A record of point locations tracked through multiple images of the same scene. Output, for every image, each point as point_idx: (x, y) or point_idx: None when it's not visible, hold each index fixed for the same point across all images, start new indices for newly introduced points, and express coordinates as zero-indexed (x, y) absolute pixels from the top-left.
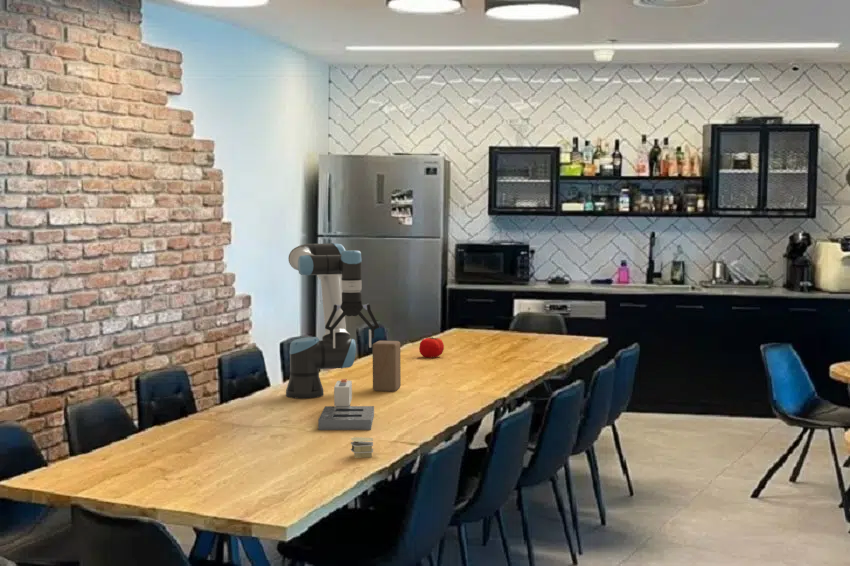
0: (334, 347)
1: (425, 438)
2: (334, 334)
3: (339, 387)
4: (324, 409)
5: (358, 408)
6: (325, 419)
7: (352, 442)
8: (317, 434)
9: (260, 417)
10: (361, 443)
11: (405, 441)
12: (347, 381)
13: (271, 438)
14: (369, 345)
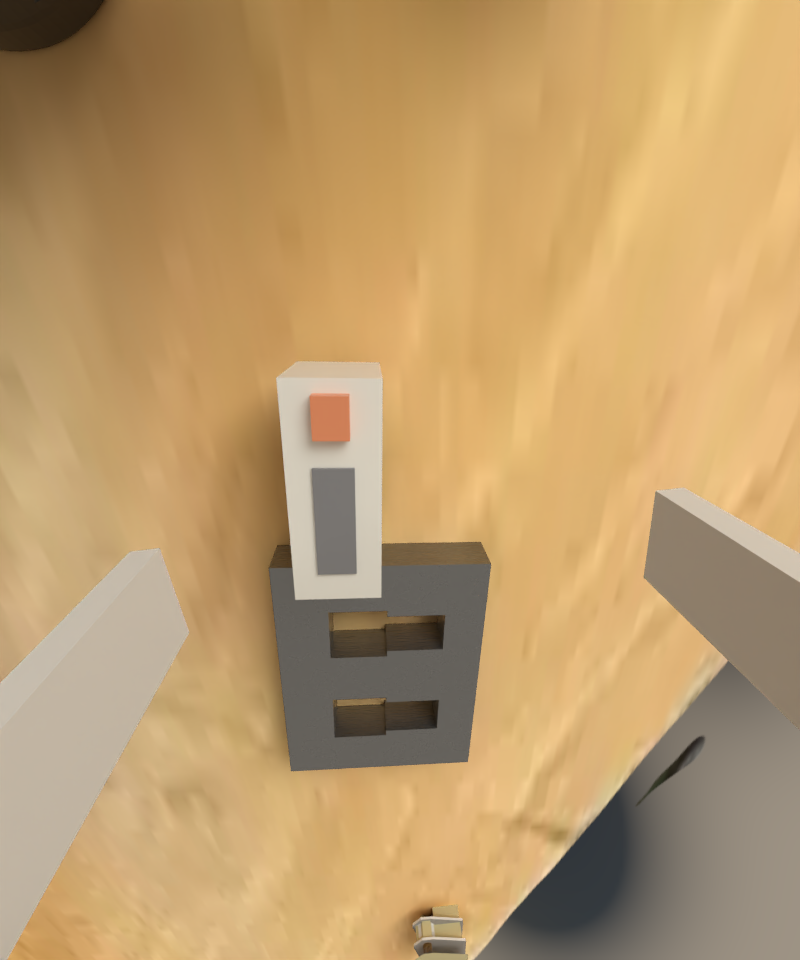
0: (174, 641)
1: (601, 797)
2: (51, 853)
3: (326, 597)
4: (279, 627)
5: (423, 607)
6: (314, 765)
7: (418, 946)
8: (303, 779)
9: (3, 576)
10: (439, 949)
11: (545, 821)
12: (355, 412)
13: (179, 819)
14: (661, 594)
